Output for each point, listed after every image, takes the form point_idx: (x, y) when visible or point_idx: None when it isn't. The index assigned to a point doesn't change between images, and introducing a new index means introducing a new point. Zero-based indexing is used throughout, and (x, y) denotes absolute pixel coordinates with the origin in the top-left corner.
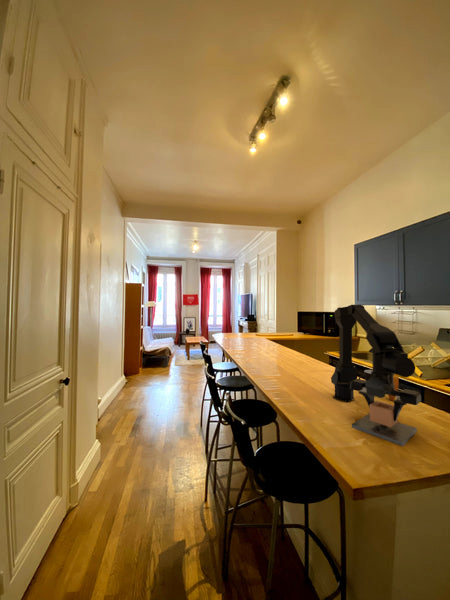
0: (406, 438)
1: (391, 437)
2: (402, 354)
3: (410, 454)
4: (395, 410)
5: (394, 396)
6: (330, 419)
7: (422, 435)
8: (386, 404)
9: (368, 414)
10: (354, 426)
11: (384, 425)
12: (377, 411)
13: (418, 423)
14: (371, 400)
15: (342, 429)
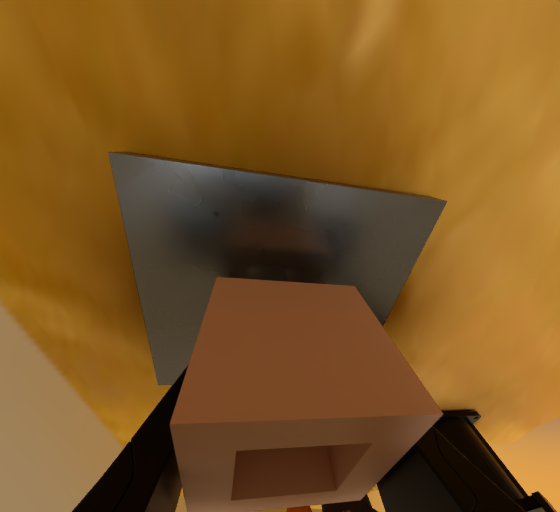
0: (128, 242)
1: (196, 183)
2: None
3: (18, 30)
4: (145, 460)
5: (290, 508)
6: (543, 216)
7: (131, 351)
8: (274, 498)
9: None
10: (425, 197)
11: None
12: (331, 358)
13: None
14: (425, 497)
15: (498, 112)
